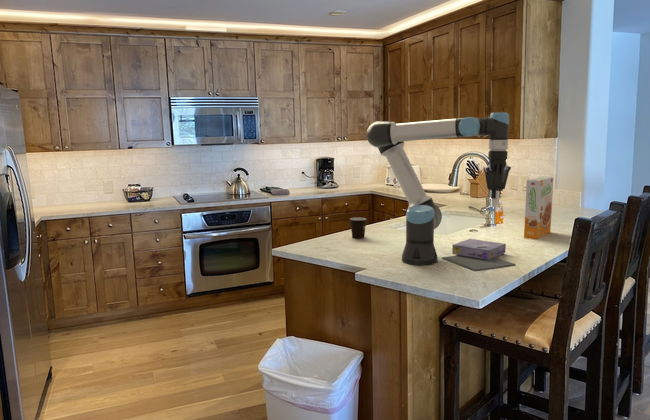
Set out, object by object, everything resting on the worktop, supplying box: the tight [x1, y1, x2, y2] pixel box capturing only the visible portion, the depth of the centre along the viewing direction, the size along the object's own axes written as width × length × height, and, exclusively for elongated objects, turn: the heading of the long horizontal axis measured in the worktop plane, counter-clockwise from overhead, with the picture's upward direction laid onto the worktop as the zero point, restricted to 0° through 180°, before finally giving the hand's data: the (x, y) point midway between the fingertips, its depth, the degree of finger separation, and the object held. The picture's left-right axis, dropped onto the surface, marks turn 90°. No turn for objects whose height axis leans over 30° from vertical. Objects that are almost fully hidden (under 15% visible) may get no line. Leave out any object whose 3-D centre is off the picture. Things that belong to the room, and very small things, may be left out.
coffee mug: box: [349, 217, 367, 240], centre depth 265 cm, size 12×9×10 cm
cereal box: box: [523, 175, 554, 240], centre depth 262 cm, size 22×6×30 cm, turn 139°
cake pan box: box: [451, 238, 507, 260], centre depth 224 cm, size 19×5×18 cm
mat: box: [441, 255, 516, 272], centre depth 213 cm, size 20×22×1 cm
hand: (495, 205), depth 213 cm, fingers closed
